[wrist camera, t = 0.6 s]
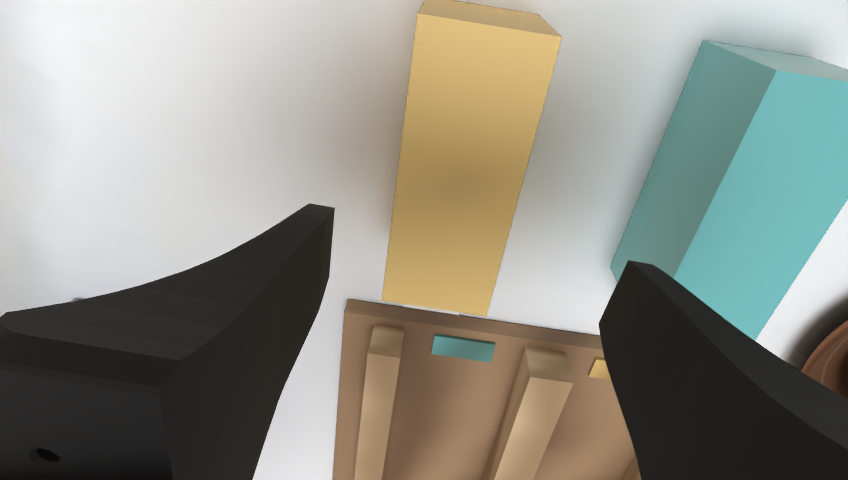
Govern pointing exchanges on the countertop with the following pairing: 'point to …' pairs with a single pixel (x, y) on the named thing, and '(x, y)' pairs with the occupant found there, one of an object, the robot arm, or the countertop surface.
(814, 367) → the cup and saucer
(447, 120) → the ochre plug block
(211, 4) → the countertop surface
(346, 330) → the comb board
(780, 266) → the teal plug block
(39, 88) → the countertop surface
